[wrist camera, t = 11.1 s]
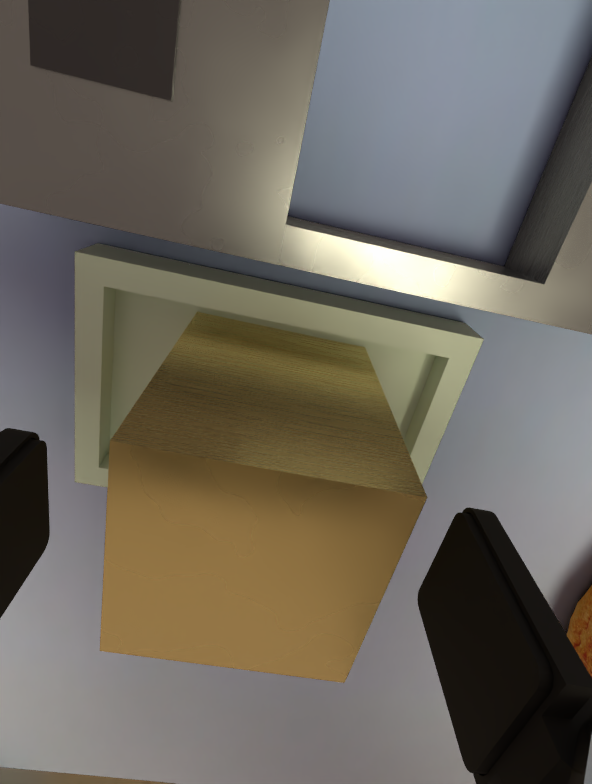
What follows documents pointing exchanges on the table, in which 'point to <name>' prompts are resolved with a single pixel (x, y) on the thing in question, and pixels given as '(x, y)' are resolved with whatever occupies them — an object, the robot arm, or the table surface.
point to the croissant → (582, 629)
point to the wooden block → (255, 504)
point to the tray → (253, 305)
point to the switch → (244, 149)
